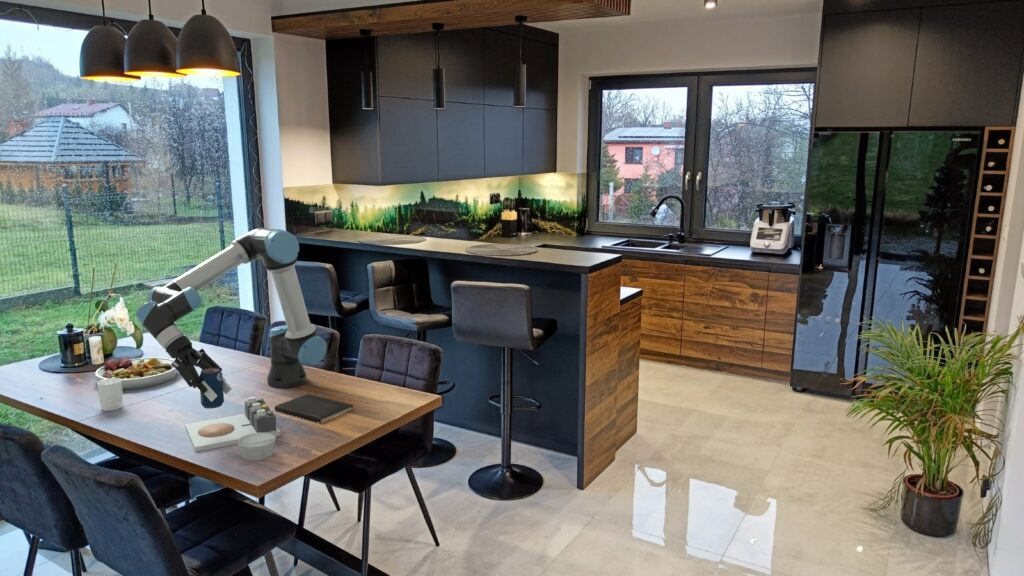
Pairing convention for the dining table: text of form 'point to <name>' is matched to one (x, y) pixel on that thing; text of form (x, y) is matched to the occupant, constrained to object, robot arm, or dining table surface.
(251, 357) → the dining table surface
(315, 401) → the hardcover book
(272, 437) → the ramekin
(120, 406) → the white cup
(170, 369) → the bowl
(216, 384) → the soda can
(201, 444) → the breaker board
